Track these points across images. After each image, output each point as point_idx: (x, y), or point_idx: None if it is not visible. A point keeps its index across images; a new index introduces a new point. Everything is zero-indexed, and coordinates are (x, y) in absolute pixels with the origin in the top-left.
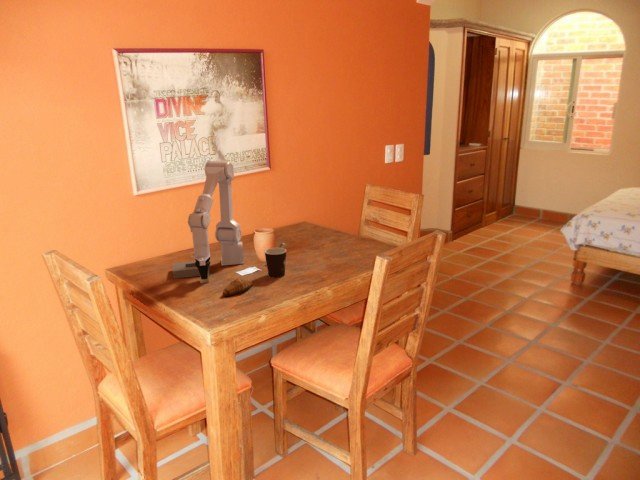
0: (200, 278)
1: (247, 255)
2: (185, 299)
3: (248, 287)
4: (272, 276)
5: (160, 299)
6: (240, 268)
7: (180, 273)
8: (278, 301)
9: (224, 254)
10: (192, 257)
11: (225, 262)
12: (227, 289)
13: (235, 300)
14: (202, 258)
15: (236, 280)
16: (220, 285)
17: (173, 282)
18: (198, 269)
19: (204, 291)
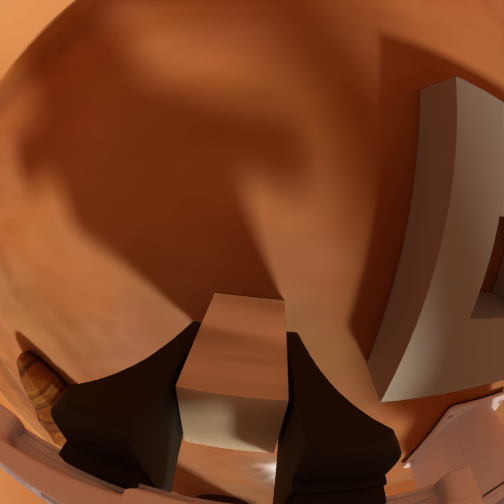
0: (205, 317)
1: None
2: (3, 182)
3: None
4: (200, 498)
5: (38, 45)
6: None
7: (437, 149)
8: (37, 429)
9: (468, 455)
10: (124, 499)
11: (453, 425)
12: (21, 380)
13: (15, 365)
14: (40, 495)
15: (50, 435)
16: None
17: (322, 70)
18: (119, 372)
19: (69, 291)
